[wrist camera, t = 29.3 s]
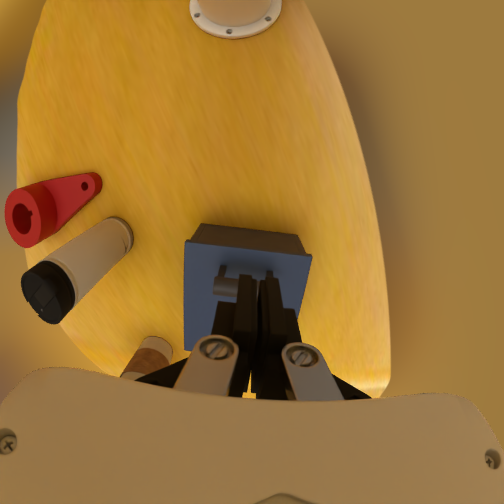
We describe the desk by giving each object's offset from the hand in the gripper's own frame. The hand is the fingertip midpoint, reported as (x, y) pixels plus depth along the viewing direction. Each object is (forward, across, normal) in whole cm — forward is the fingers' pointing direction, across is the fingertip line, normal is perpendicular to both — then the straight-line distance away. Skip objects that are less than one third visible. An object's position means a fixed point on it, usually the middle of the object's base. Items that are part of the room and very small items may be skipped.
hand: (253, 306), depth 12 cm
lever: (+27, +31, +3) cm, 41 cm away
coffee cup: (+27, +14, +29) cm, 42 cm away
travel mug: (+27, +20, +8) cm, 35 cm away
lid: (+18, 0, +12) cm, 21 cm away
